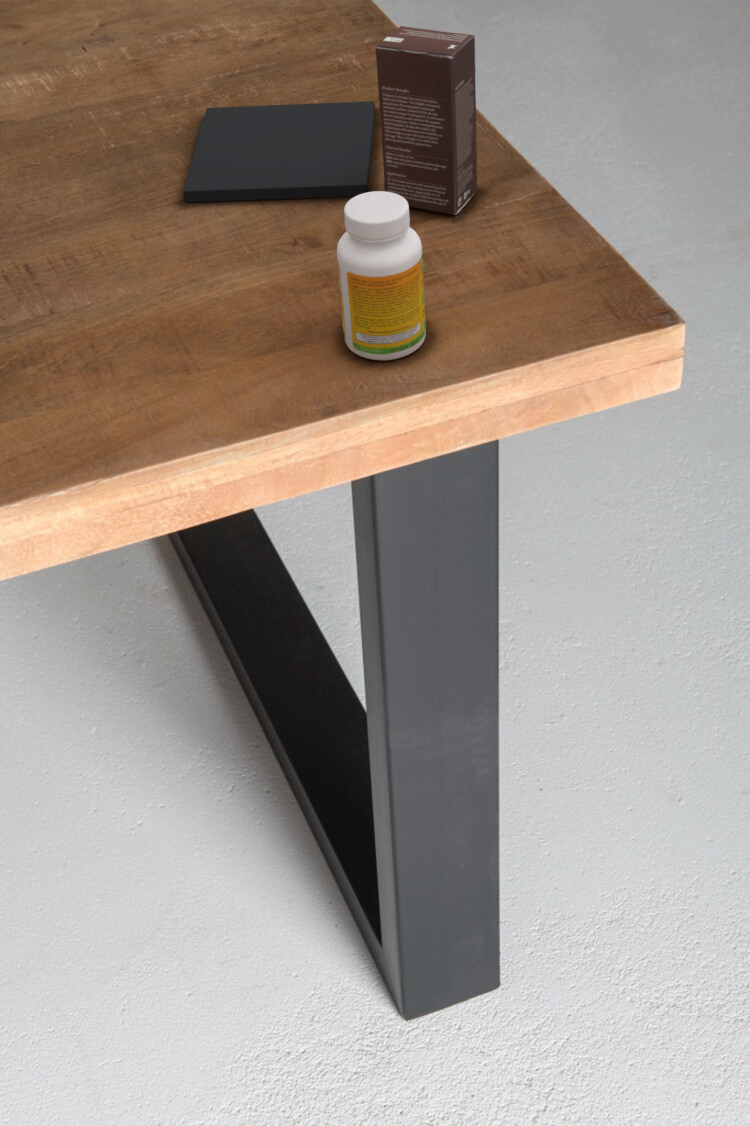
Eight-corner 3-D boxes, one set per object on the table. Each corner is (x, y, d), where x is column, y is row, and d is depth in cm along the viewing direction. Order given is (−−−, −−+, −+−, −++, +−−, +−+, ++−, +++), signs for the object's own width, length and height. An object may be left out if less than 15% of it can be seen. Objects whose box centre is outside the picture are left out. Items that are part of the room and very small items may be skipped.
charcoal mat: (185, 202, 108) (182, 191, 107) (208, 118, 118) (206, 107, 117) (367, 196, 107) (367, 184, 106) (375, 112, 117) (374, 100, 116)
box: (479, 189, 106) (477, 32, 98) (455, 218, 104) (451, 59, 95) (407, 176, 109) (399, 21, 100) (381, 204, 106) (371, 47, 98)
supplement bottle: (441, 345, 92) (437, 211, 85) (369, 372, 90) (359, 238, 84) (400, 307, 95) (392, 176, 89) (330, 333, 94) (317, 201, 87)
